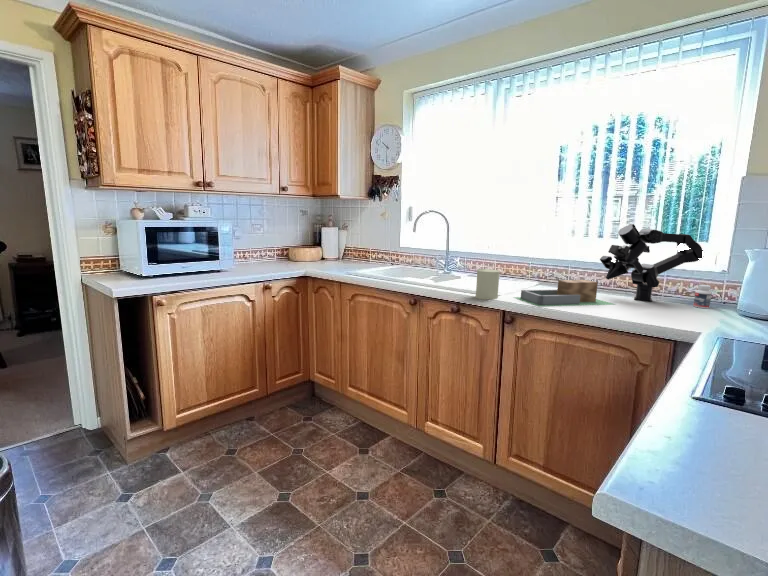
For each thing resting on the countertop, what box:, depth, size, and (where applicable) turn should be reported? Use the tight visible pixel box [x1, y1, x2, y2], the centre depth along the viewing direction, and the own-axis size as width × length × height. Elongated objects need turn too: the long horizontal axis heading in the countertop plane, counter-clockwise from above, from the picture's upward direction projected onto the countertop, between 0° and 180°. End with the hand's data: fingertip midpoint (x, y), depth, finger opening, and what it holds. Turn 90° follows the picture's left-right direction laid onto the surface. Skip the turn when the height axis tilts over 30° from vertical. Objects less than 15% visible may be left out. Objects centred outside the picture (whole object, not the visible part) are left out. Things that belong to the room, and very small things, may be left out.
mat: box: [512, 296, 617, 308], centre depth 173 cm, size 35×18×1 cm, turn 104°
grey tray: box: [520, 289, 580, 305], centre depth 171 cm, size 18×13×4 cm
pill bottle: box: [692, 284, 712, 309], centre depth 169 cm, size 5×5×9 cm
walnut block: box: [556, 279, 598, 302], centre depth 174 cm, size 14×6×8 cm, turn 104°
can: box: [475, 268, 501, 301], centre depth 176 cm, size 9×9×12 cm
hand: (607, 278), depth 176 cm, fingers closed
